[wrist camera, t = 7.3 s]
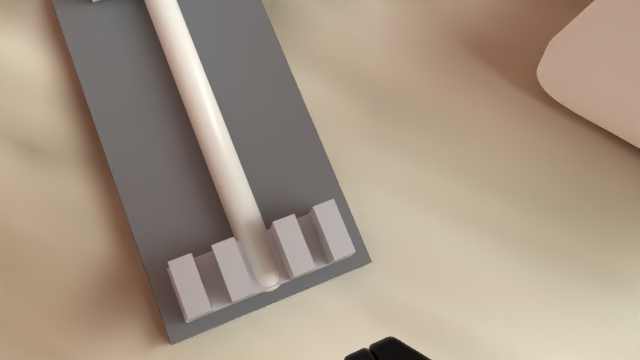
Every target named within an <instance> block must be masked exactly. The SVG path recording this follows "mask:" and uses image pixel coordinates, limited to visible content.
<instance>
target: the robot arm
mask: <svg viewBox="0 0 640 360" xmlns="http://www.w3.org/2000/svg"><path fill="white" fill-rule="evenodd" d="M344 360H431V359H429V358H428V357H426V356H424V355H423V354H421V353H419V352H418V351H416V350H415V349H413V348H411V347H410V346H408V345H406V344H405V343H403V342H402V341H400V340H398V339H397V338H395V337H386V338H384V339H382V340H380V341H378V342H375V343H373V344H371V345H370V347H369V349H367V348H363V349H360V350H358V351H356V352H354V353H352V354H350V355H347V356H346V357H345V359H344Z"/></svg>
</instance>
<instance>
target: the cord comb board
mask: <svg viewBox="0 0 640 360" xmlns="http://www.w3.org/2000/svg"><path fill="white" fill-rule="evenodd" d="M52 3H53V6H54V9H55V12H56V15H57V18H58V21H59V23H60V26H61V29H62V32H63V35H64V38H65V41H66V44H67V46H68V49H69V52H70V55H71V58H72V61H73V64H74V67H75V69H76V72H77V75H78V78H79V81H80V84H81V87H82V90H83V92H84V95H85V98H86V101H87V104H88V107H89V110H90V113H91V115H92V118H93V121H94V124H95V127H96V130H97V133H98V136H99V138H100V141H101V144H102V147H103V150H104V153H105V156H106V159H107V161H108V164H109V167H110V170H111V173H112V176H113V179H114V182H115V184H116V187H117V190H118V193H119V196H120V199H121V202H122V205H123V207H124V210H125V213H126V216H127V219H128V222H129V225H130V228H131V230H132V233H133V236H134V239H135V242H136V245H137V248H138V251H139V253H140V256H141V259H142V262H143V265H144V268H145V271H146V274H147V276H148V279H149V282H150V285H151V288H152V291H153V294H154V297H155V299H156V302H157V305H158V308H159V311H160V314H161V317H162V320H163V322H164V325H165V328H166V331H167V334H168V337H169V340H170V343H171V345H173V344H176V343H178V342H180V341H183V340H185V339H188V338H190V337H192V336H195V335H197V334H200V333H202V332H204V331H207V330H209V329H212V328H214V327H217V326H219V325H221V324H224V323H226V322H229V321H231V320H233V319H236V318H238V317H241V316H243V315H246V314H248V313H250V312H253V311H255V310H258V309H260V308H262V307H265V306H267V305H270V304H272V303H275V302H277V301H279V300H282V299H284V298H287V297H289V296H291V295H294V294H296V293H299V292H301V291H304V290H306V289H308V288H311V287H313V286H316V285H318V284H320V283H323V282H325V281H328V280H330V279H333V278H335V277H337V276H340V275H342V274H345V273H347V272H349V271H352V270H354V269H357V268H359V267H362V266H364V265H366V264H369V263H371V262H372V261H371V259H370V256H369V254H368V252H367V249H366V247H365V245H364V242H363V240H362V238H361V235H360V233H359V230H358V228H357V226H356V223H355V221H354V219H353V216H352V214H351V212H350V209H349V207H348V204H347V202H346V200H345V197H344V195H343V193H342V190H341V188H340V186H339V183H338V181H337V178H336V176H335V174H334V171H333V169H332V167H331V164H330V162H329V160H328V157H327V155H326V152H325V150H324V148H323V145H322V143H321V141H320V138H319V136H318V134H317V131H316V129H315V126H314V124H313V122H312V119H311V117H310V115H309V112H308V110H307V108H306V105H305V103H304V100H303V98H302V96H301V93H300V91H299V89H298V86H297V84H296V82H295V79H294V77H293V75H292V72H291V70H290V67H289V65H288V63H287V60H286V58H285V56H284V53H283V51H282V49H281V46H280V44H279V41H278V39H277V37H276V34H275V32H274V30H273V27H272V25H271V23H270V20H269V18H268V15H267V13H266V11H265V8H264V6H263V4H262V1H261V0H99V1H95V2H93V1H92V0H52Z"/></svg>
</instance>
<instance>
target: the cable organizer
mask: <svg viewBox="0 0 640 360" xmlns="http://www.w3.org/2000/svg"><path fill="white" fill-rule="evenodd" d="M537 78H538V80H539V83H540V84H541V86H542V87H543V89H544V90H545V91H546V92H547V93H548V94H549V95H550V96H551V97H552V98H554V99H555V100H556V101H558V102H559V103H560V104H562V105H564V106H565V107H567V108H568V109H570V110H571V111H572V112H574V113H576V114H578V115H580V116H581V117H583V118H585V119H587V120H589V121H591V122H593V123H594V124H596V125H598V126H600V127H602V128H604V129H605V130H607V131H609V132H611V133H613V134H615V135H616V136H618V137H620V138H622V139H623V140H625V141H627V142H629V143H630V144H632V145H634V146H636V147H637V148H639V149H640V0H594V1H593V2H592V3H591V4H590V5H589V6H588V7H586V8H585V9H584V10H583V11H582V12H581V13H580V14H579V15H578V16H577V17H575V18H574V19H573V20H572V21H571V22H570V23H569V24H568V25H567V26H566V27H564V28H563V29H562V30H561V31H560V32H559V33H558V34H557V35H556V36H555V37H554V38H552V40H551V41H550V42H549V44H548V46H547V48H546V50H545V52H544V54H543V57H542V59H541V61H540V63H539V65H538V68H537Z"/></svg>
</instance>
